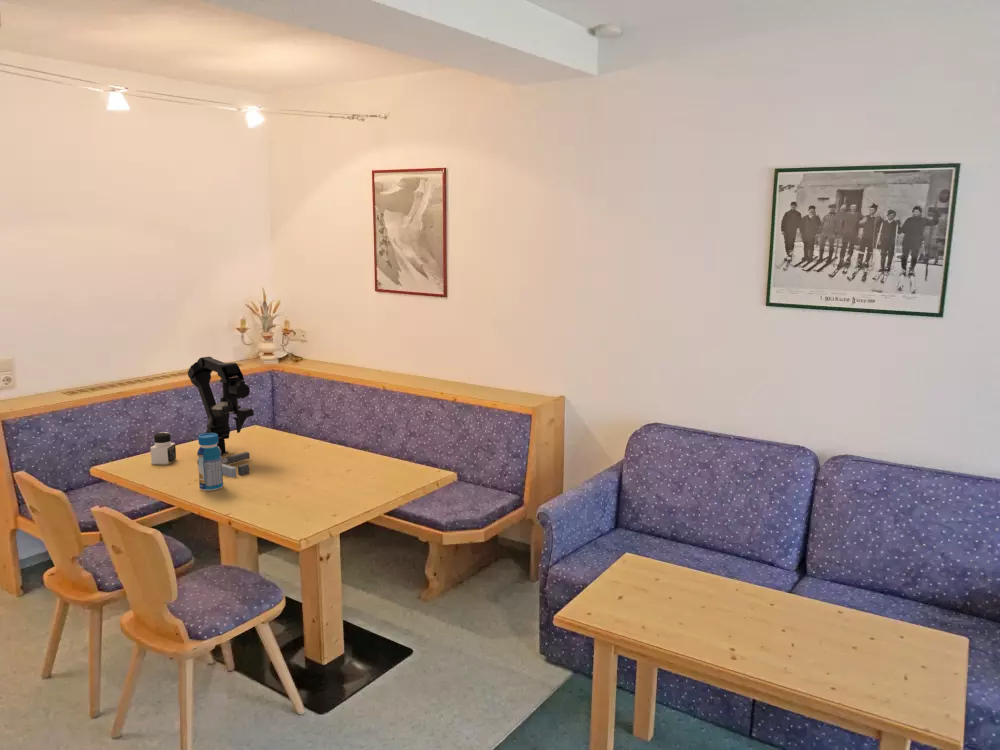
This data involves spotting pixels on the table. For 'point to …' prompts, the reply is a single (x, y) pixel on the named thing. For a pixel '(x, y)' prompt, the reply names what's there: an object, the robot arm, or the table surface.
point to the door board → (228, 471)
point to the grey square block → (243, 469)
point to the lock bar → (235, 458)
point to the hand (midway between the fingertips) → (232, 431)
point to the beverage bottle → (209, 462)
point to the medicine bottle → (163, 449)
